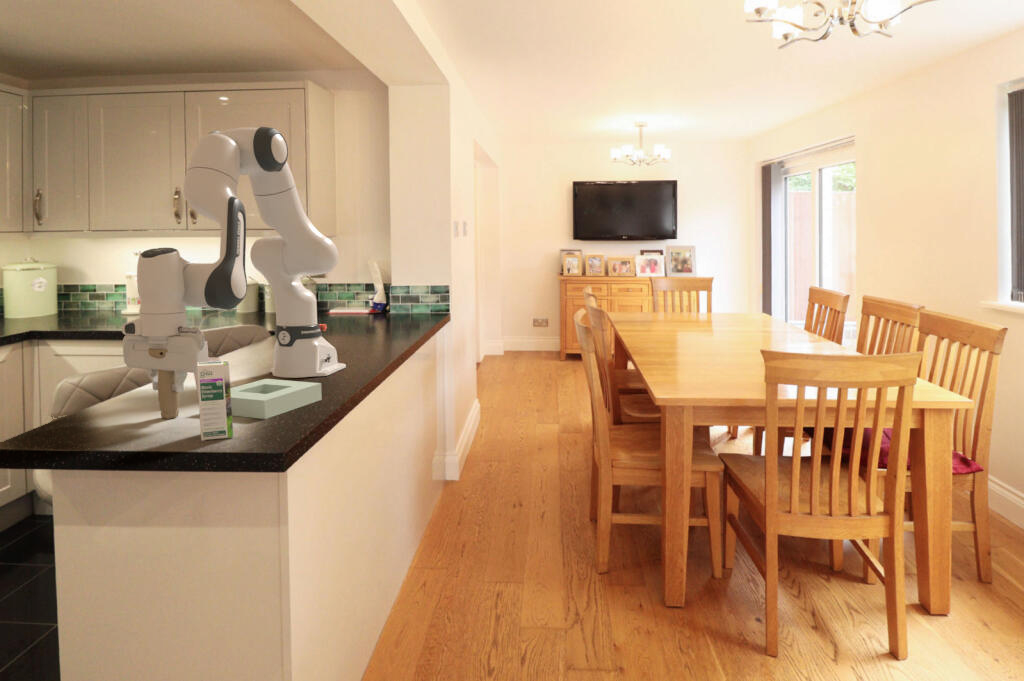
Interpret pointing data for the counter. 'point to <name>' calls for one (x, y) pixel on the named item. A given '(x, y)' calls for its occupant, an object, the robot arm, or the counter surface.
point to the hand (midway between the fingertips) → (168, 390)
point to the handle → (166, 388)
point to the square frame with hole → (272, 397)
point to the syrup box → (214, 400)
